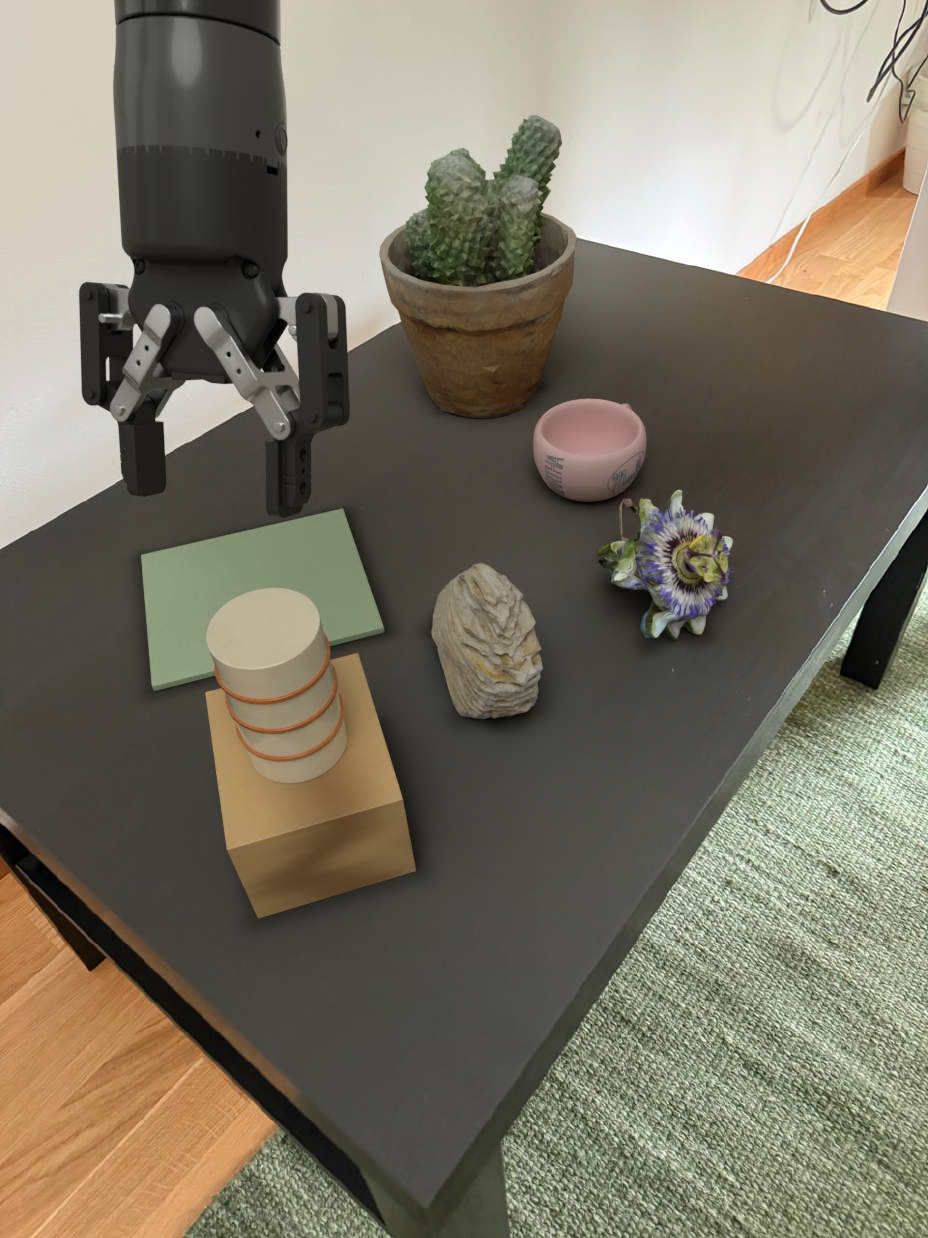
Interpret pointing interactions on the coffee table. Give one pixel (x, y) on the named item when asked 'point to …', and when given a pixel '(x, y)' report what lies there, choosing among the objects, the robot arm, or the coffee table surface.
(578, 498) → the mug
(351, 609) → the mat
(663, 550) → the passion flower
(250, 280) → the robot arm
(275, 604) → the banded jar
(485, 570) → the fossil tooth
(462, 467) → the coffee table surface
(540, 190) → the potted plant
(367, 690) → the stand
